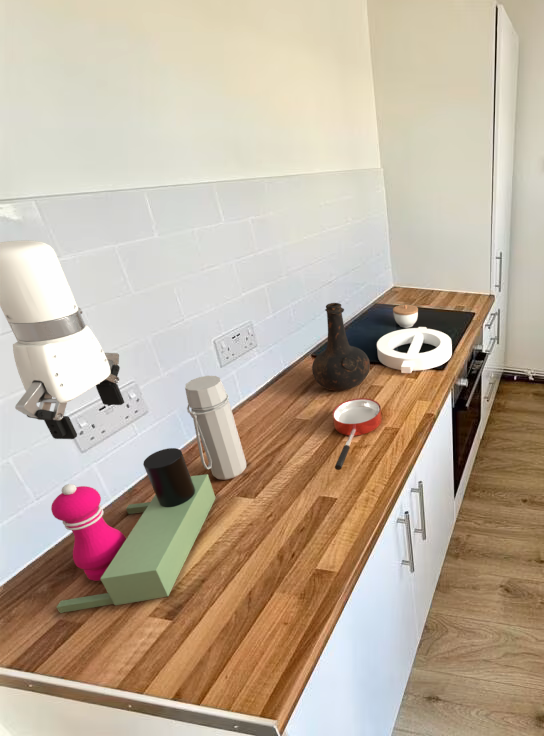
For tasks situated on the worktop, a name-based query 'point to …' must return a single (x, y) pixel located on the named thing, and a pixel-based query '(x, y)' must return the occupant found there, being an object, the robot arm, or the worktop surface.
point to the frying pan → (355, 421)
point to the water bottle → (215, 427)
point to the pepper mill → (87, 529)
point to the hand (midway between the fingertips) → (91, 419)
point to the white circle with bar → (414, 349)
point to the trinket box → (405, 315)
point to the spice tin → (169, 477)
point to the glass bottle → (339, 356)
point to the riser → (151, 551)
